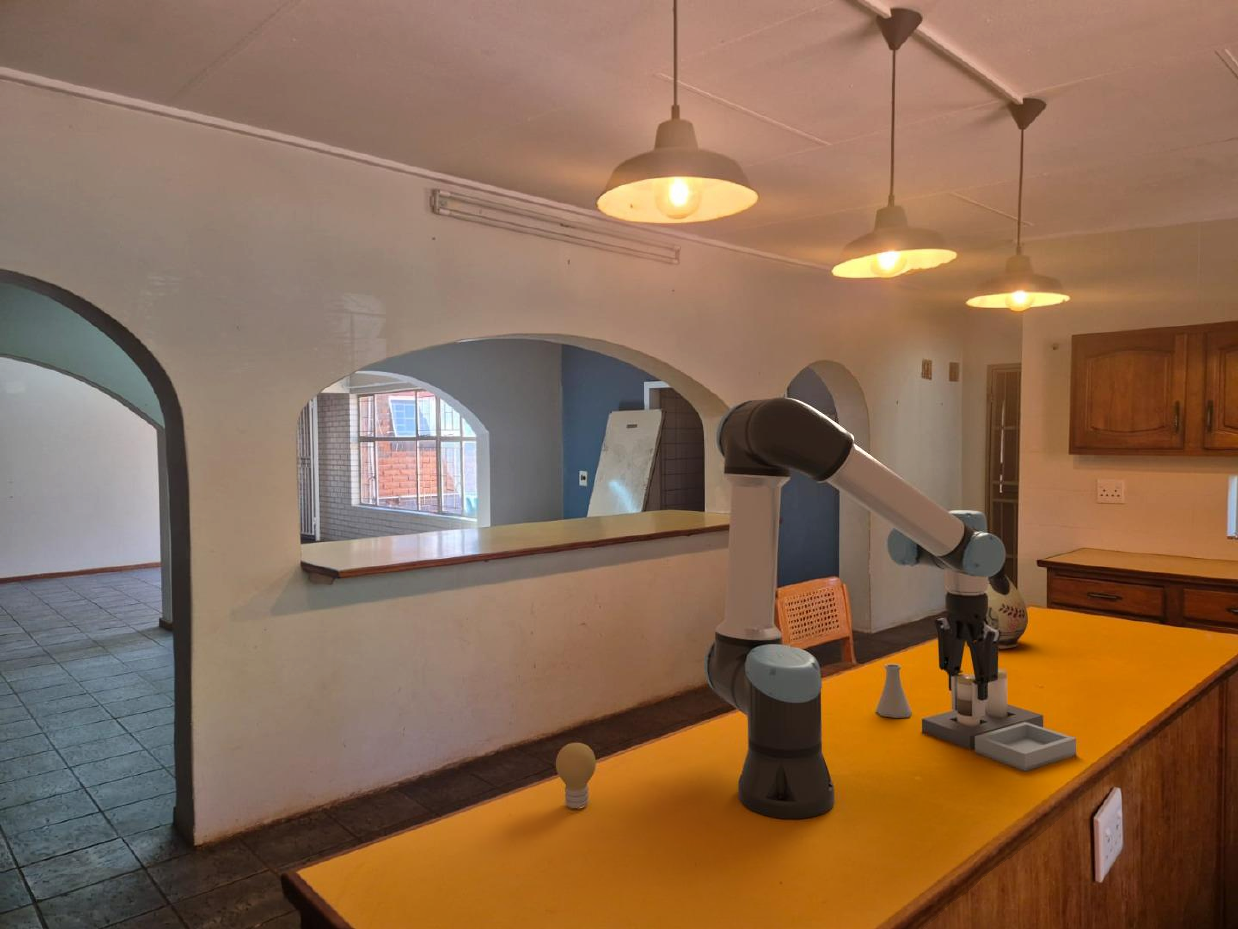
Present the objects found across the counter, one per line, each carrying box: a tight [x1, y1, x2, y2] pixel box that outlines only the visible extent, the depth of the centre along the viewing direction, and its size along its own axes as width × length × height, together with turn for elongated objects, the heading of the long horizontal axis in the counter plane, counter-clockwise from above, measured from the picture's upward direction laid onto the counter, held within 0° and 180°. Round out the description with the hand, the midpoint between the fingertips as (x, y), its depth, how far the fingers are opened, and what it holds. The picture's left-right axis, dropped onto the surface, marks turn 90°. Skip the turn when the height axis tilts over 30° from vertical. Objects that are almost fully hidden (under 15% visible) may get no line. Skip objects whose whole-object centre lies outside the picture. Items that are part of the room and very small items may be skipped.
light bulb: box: [555, 742, 597, 809], centre depth 130 cm, size 6×6×10 cm
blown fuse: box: [956, 673, 980, 727], centre depth 157 cm, size 4×4×11 cm
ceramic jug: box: [983, 563, 1029, 650], centre depth 221 cm, size 17×15×30 cm
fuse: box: [985, 667, 1008, 719], centre depth 161 cm, size 4×4×11 cm
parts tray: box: [974, 722, 1077, 773], centre depth 147 cm, size 14×10×3 cm
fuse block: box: [921, 703, 1044, 750], centre depth 159 cm, size 21×11×2 cm, turn 118°
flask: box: [875, 663, 913, 719], centre depth 170 cm, size 7×7×10 cm
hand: (968, 712), depth 157 cm, fingers closed on blown fuse, 4 cm apart
